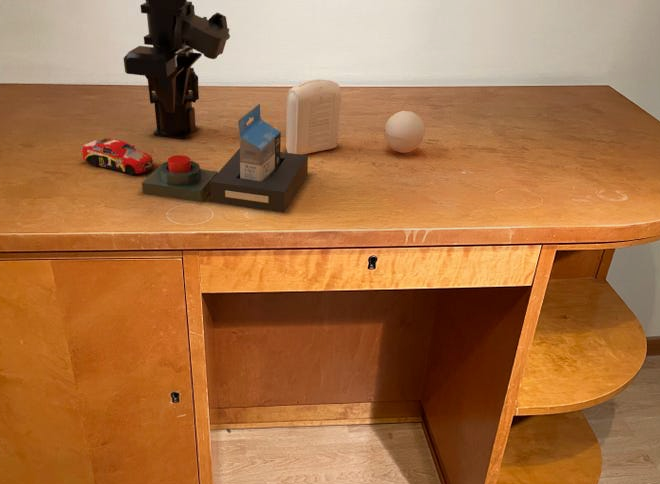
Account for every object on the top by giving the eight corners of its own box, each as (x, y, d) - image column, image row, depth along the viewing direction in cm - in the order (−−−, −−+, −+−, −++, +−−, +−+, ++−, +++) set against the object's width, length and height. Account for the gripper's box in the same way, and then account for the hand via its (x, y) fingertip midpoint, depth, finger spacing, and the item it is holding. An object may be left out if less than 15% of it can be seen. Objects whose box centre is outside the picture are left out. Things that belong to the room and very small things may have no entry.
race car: (160, 168, 122) (158, 145, 119) (141, 179, 118) (138, 156, 115) (99, 152, 126) (96, 130, 124) (79, 163, 122) (75, 140, 120)
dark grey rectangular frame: (210, 202, 112) (209, 182, 110) (241, 166, 124) (240, 146, 121) (283, 213, 110) (283, 192, 107) (307, 174, 121) (308, 155, 119)
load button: (165, 172, 113) (164, 162, 112) (173, 164, 116) (172, 153, 114) (186, 175, 112) (185, 165, 111) (194, 167, 115) (193, 156, 114)
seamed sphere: (413, 142, 135) (418, 104, 130) (427, 157, 129) (433, 117, 125) (363, 145, 133) (367, 106, 128) (375, 161, 127) (379, 120, 123)
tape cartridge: (262, 200, 113) (261, 124, 105) (239, 196, 114) (237, 120, 106) (281, 179, 120) (281, 106, 112) (259, 175, 120) (259, 102, 113)
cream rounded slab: (327, 140, 134) (331, 73, 127) (341, 148, 131) (345, 79, 124) (282, 150, 130) (282, 81, 122) (294, 158, 127) (296, 88, 119)
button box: (142, 193, 114) (140, 173, 111) (162, 174, 120) (160, 154, 118) (201, 202, 112) (200, 181, 110) (218, 182, 118) (217, 162, 116)
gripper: (195, 15, 90) (203, 135, 99) (242, -13, 104) (244, 95, 113) (115, 7, 91) (129, 126, 101) (171, -19, 106) (179, 88, 115)
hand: (175, 108), depth 108 cm, fingers open, 3 cm apart
